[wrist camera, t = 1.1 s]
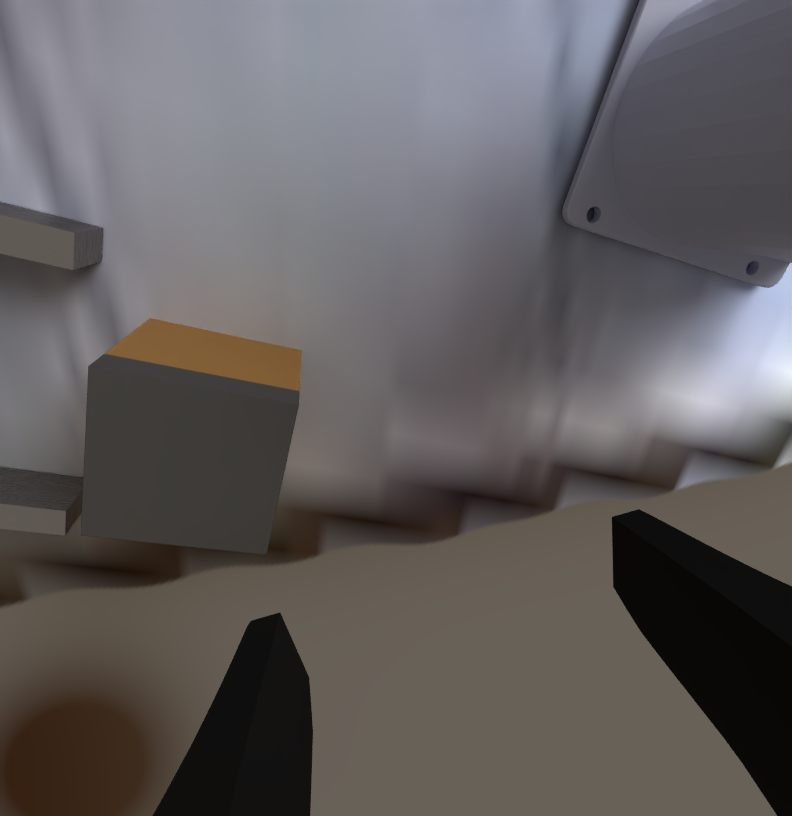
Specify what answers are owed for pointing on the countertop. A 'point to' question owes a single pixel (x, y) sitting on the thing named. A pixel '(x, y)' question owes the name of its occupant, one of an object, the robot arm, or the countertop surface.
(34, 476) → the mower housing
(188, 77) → the countertop surface
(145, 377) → the orange-topped grey cube
